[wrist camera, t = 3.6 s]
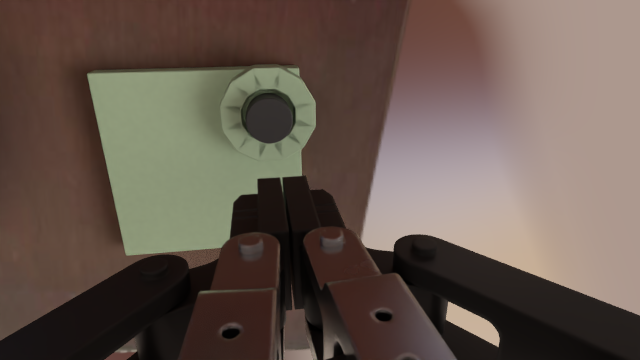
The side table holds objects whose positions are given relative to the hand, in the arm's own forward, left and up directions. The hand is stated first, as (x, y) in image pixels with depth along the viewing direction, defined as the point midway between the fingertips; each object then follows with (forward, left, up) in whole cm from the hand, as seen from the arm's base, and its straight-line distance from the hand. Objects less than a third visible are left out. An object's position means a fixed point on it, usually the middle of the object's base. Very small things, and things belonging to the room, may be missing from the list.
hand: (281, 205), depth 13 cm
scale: (+4, +3, -15) cm, 16 cm away
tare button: (0, 0, -12) cm, 12 cm away
